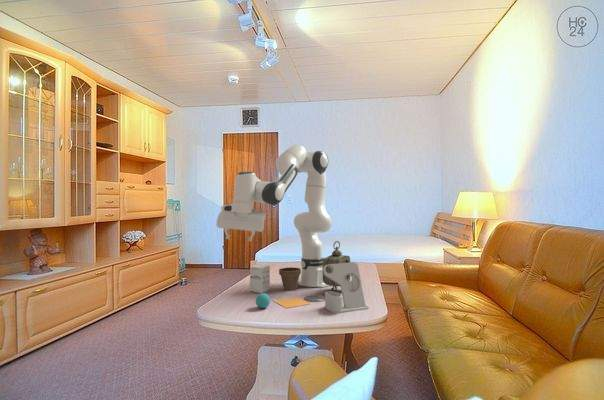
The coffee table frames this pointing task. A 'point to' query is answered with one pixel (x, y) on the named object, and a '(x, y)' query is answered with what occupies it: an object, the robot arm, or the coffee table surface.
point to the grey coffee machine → (345, 288)
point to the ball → (262, 300)
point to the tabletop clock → (334, 259)
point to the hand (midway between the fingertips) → (238, 240)
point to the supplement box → (259, 278)
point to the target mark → (292, 302)
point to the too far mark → (314, 298)
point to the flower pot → (290, 277)
